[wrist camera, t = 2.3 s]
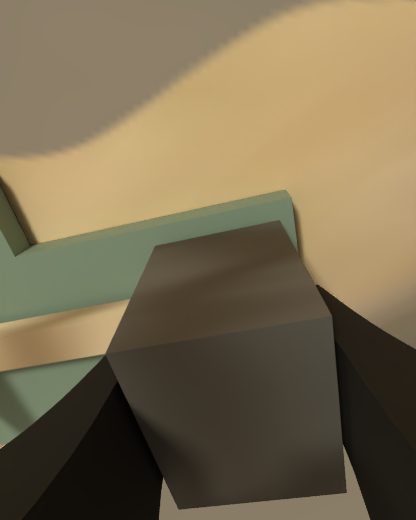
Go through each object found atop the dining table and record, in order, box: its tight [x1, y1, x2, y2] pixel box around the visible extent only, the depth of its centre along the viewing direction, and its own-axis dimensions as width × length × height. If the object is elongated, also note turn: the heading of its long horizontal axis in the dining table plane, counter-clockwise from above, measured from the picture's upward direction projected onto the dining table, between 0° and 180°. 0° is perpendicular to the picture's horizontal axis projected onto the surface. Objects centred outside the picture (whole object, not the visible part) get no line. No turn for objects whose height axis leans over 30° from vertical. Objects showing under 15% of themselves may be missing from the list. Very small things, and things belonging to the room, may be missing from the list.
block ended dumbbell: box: [0, 220, 347, 509], centre depth 9 cm, size 14×5×5 cm, turn 103°
